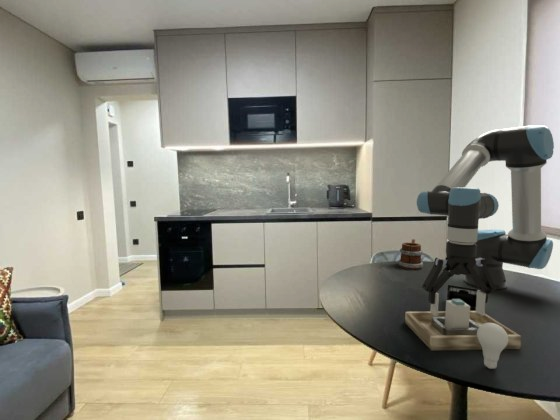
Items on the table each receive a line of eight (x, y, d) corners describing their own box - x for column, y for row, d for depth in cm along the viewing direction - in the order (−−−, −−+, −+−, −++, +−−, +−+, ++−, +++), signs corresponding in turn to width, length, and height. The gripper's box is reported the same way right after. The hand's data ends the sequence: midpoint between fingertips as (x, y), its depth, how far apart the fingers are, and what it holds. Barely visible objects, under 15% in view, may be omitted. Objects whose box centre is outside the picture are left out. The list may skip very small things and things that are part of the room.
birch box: (479, 321, 99) (480, 310, 98) (520, 348, 83) (521, 336, 83) (405, 322, 98) (405, 311, 98) (431, 350, 82) (432, 337, 82)
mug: (395, 268, 156) (397, 238, 157) (399, 266, 169) (401, 238, 169) (421, 271, 151) (423, 240, 151) (423, 269, 163) (425, 240, 164)
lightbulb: (469, 361, 77) (471, 318, 76) (492, 360, 78) (495, 317, 77) (487, 376, 71) (490, 330, 70) (512, 375, 72) (516, 329, 71)
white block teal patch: (459, 325, 94) (460, 297, 93) (468, 333, 89) (470, 303, 88) (444, 326, 93) (446, 297, 93) (453, 333, 89) (455, 303, 88)
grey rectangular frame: (466, 322, 96) (466, 316, 96) (484, 336, 87) (485, 329, 87) (429, 323, 95) (429, 316, 95) (444, 337, 87) (445, 330, 87)
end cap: (479, 305, 111) (480, 287, 111) (479, 313, 105) (481, 293, 105) (447, 300, 116) (448, 282, 116) (446, 306, 110) (447, 288, 110)
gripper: (494, 239, 93) (489, 308, 95) (412, 239, 92) (408, 309, 94) (514, 244, 85) (508, 319, 88) (424, 245, 85) (420, 320, 87)
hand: (457, 314), depth 91 cm, fingers open, 13 cm apart
